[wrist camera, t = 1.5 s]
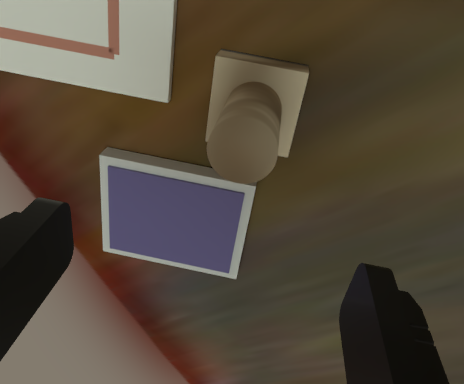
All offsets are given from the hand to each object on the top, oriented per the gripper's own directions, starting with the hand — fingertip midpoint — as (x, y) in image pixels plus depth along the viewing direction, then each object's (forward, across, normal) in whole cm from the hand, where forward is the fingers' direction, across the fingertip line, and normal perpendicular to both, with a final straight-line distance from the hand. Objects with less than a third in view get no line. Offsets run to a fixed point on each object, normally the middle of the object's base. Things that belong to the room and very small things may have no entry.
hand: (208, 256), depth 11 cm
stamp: (+14, 0, 0) cm, 14 cm away
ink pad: (+14, +4, +9) cm, 17 cm away
